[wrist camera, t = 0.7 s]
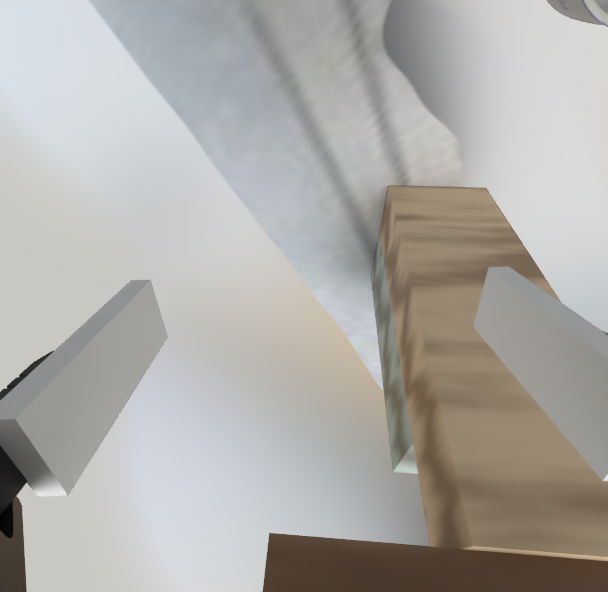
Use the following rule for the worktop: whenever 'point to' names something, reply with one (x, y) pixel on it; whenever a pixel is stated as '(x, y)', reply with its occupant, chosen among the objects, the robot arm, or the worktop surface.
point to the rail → (419, 568)
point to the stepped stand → (471, 387)
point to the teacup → (583, 10)
